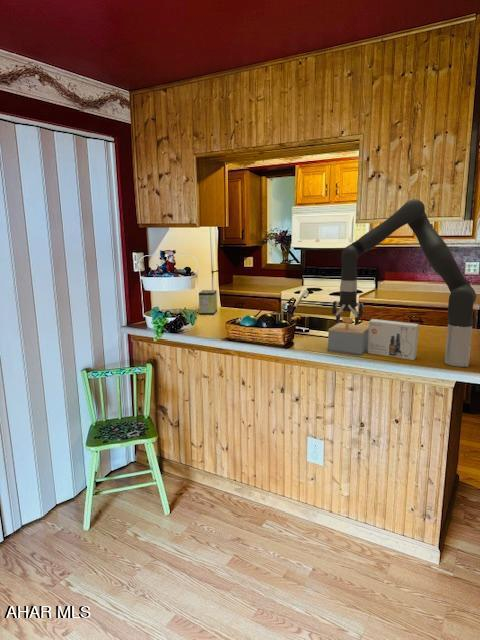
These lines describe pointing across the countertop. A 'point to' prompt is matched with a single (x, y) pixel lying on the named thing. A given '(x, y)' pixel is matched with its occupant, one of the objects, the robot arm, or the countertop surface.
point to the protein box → (207, 302)
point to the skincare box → (393, 338)
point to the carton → (348, 342)
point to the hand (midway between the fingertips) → (347, 323)
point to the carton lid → (349, 327)
